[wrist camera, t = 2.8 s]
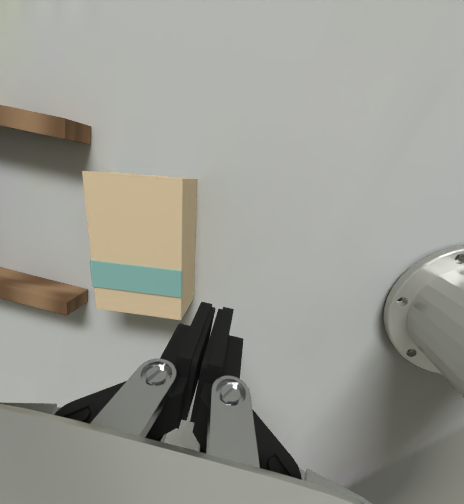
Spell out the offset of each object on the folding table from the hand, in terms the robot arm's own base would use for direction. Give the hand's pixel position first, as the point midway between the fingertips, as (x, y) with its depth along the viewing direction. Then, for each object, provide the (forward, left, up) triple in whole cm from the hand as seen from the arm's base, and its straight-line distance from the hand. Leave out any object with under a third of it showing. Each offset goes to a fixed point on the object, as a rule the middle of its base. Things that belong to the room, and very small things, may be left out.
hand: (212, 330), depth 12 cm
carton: (+8, 0, -12) cm, 15 cm away
